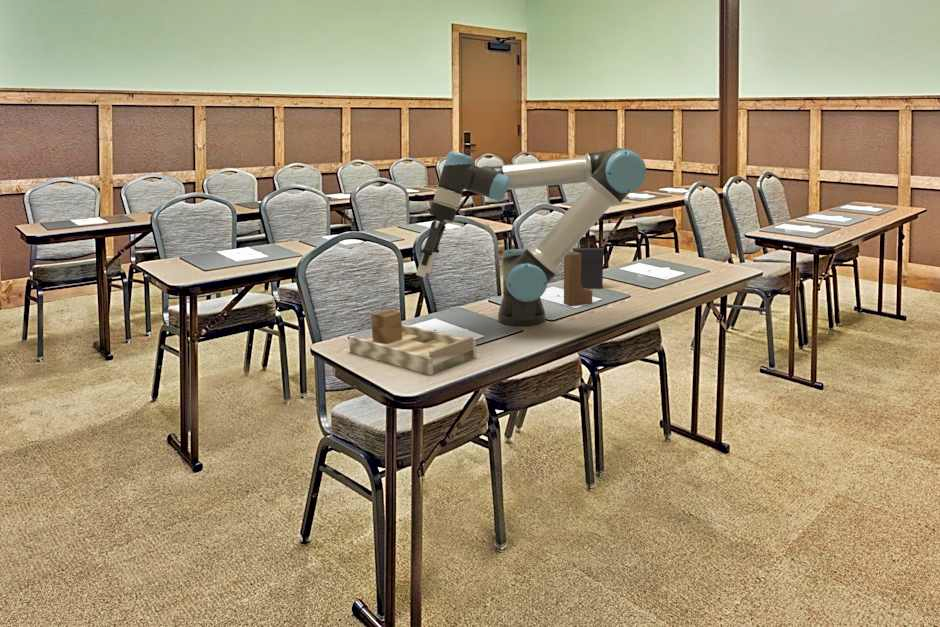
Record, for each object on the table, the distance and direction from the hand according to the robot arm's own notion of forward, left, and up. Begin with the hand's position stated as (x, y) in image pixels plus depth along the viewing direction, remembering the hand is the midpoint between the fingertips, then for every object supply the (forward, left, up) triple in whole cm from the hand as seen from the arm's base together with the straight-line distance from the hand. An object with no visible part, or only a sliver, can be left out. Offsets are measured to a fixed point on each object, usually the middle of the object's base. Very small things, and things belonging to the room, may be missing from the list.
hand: (423, 274), depth 225 cm
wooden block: (-53, -33, -20) cm, 66 cm away
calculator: (-61, -55, -20) cm, 85 cm away
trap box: (+4, +16, -20) cm, 25 cm away
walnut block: (+11, +9, -17) cm, 22 cm away
